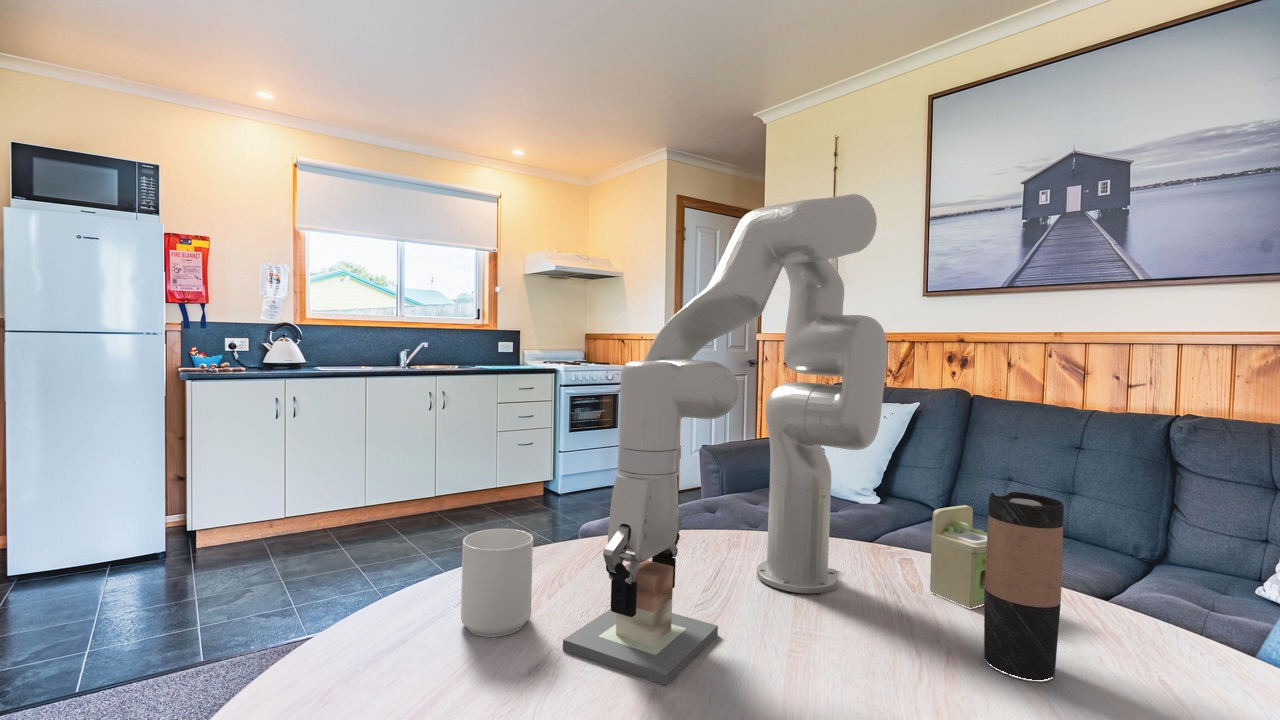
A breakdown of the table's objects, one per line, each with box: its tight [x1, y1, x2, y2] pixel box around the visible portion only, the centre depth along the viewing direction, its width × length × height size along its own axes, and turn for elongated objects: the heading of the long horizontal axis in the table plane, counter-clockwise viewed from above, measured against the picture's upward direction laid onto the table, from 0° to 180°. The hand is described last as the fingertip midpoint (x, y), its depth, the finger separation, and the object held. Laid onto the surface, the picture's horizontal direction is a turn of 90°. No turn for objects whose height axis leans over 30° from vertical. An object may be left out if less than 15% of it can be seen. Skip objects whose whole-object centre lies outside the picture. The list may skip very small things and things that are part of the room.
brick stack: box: [616, 559, 674, 646], centre depth 75 cm, size 5×5×8 cm
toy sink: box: [929, 504, 987, 608], centre depth 92 cm, size 9×7×13 cm
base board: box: [562, 608, 719, 686], centre depth 75 cm, size 14×14×1 cm
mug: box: [460, 528, 534, 638], centre depth 80 cm, size 12×9×11 cm
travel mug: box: [983, 491, 1065, 680], centre depth 72 cm, size 8×8×20 cm
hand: (644, 599), depth 75 cm, fingers open, 9 cm apart
